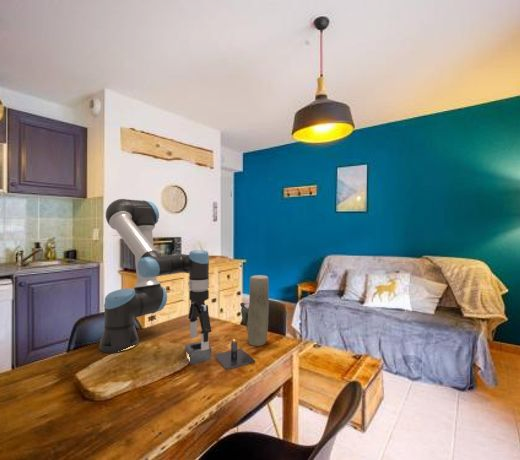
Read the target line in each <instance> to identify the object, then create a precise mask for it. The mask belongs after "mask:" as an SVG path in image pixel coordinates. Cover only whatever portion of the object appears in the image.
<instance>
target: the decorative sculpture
mask: <svg viewBox="0 0 520 460" xmlns="http://www.w3.org/2000/svg"><path fill="white" fill-rule="evenodd" d="M269 282H270V281H269V277H268V276H267V275H265V274H264V275H263V274H262V275H261V274H258V275H256V274H255V275H252V276H250V279H249V303H247V302H241V303H240V304H239V306H240V307H241V308H240V313H241V318H242V322H243V325H244V326H245V325H246V331H247V342H248V344H249V345H251V346H253V347H256V346H257V347H259V346H260V347H261V346H264V345H265V344H266V342H267V337H268V330H269V313H270V312H269V310H270V307H269V306H270V297H269V296H270V293H269V290H270V289H269V288H270V287H269ZM248 304H249V305H248ZM245 305H248V308H247V307H246V306H245Z"/></svg>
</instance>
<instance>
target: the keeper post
mask: <svg viewBox="0 0 520 460" xmlns="http://www.w3.org/2000/svg"><path fill="white" fill-rule="evenodd" d="M230 341H231V342H230V346H231V347H230V350H228V351H224V352H219V353H215V354H214V355H213V356H214V357H213V358H215V359H216V360H217V362H218V363H220V365H221V366H222V367H223V368H224V369H225V370H226V371H228V370H231V369H236V368H239V367H243V366H247V365H250V364H254V363H255V362H256V360H255V359H254V358H253V357H252V356H251V355H249V354H248V353H247V352H246V351H244V349H242V348H238V338H237V337H233V338H231V340H230Z"/></svg>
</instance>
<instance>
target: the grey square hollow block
mask: <svg viewBox="0 0 520 460" xmlns="http://www.w3.org/2000/svg"><path fill="white" fill-rule="evenodd" d="M184 347H185V348H184V350H186V352H187V353H188V354H189V357H190V362H189V364H190V365H195V364H201V363H203V362H207V361H211V360H212V347H210V345H209V349H207V350H203V351H202V350H201V341H198V342H193V343H188V344H185V345H184Z"/></svg>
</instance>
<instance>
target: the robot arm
mask: <svg viewBox="0 0 520 460" xmlns="http://www.w3.org/2000/svg"><path fill="white" fill-rule="evenodd" d="M159 219H160V212H159V209H158V207H157V205H156V204H155V203H154V202H152V201H147V200H144V199H143V200H141V199H139V200H138V199H127V198H119V199H116V200H114V201H112V202H111V203H110V204H109V205H108V206H107V208H106V210H105V220H106V222H107V224H108V225H109V227H110V228H111V229H112V230H115V231H116V232H117V234H118V235H119V236H120V237H121V239H122V240H123V242H124V243H125V244H126V246H127V247H128V248H129V251H131V252H132V254H133V255H134V259H135V271H136V281H137V282H136V284H135V285H134V287H133V288H121V289H117V290H113V291H111V292H110V293H108V294H106V296H105V297H104V305H103V307H104V310H103V311H104V323H103V324H104V328H103V332H102V335H101V337H100V341H99V347H98V349H99V350H100V352H103V353H106V354H108V353H109V354H112V353H113V354H115V352H117V353H119V352H118V351H121V350H123V349H126V348H128V347H130V346H133V345H136V344H138V345H139V339H140V338H139V335H138V332H137V329H136V326H135V320H136V319H135V318H140V317H143V316H148V315H150V314H156V313H157V312H160V311H162V310H163V309H164V308H165V306H166V304H167V301H168V294H167V290H166V288H165V287H164V286H162V283H161V282H160V281H158V279H157V277H161V276H168V275H175V274H181V273H182V274H183V273H184V274H189V275H188V276H189V278H188V279H189V281H188V283H187V284H188V285H189V292H188V293H189V295H188V298H189V301H190V304H189V305H190V307H189V313H188V319H189V322H190V324H189V325H190V326H189V327H190V328H189V331H190V333H189V335H190V337H189V338H190V339H195V338H198V321H199V324H200V328H201V329H200V330H201V331H200V342H201V350H202V351H203V350H207V349H209V346H210V345H209V344H210V343H209V341H210V339H209V338H210V337H209V334H210V333H212V328H211V327H212V326H211V320H210V315H209V305H208V304H205V301H208V300H209V298H210V296H209V295H210V291H209V288H210V277H209V276H210V272H209V271H210V267H209V265H210V257H209V256H210V255H209V251H208V250H204V249H197V250H196V249H195V250H190V251H189V254H185V253H173V254H169V255H160V253H159V252H158V251H157V250H156V248H155V246H154V238H153V237H154V236H153V231H154V229H155V227H156V226H155V225H157V223H158V222H159Z"/></svg>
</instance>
